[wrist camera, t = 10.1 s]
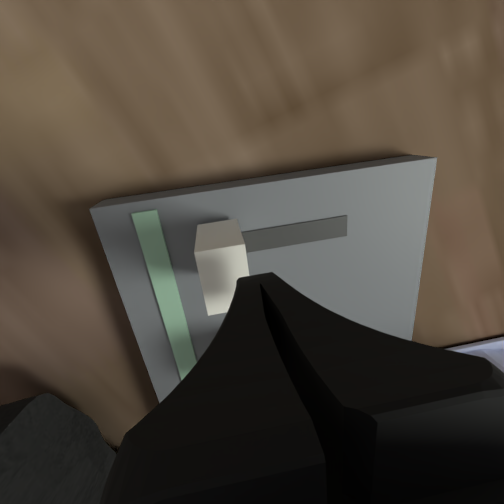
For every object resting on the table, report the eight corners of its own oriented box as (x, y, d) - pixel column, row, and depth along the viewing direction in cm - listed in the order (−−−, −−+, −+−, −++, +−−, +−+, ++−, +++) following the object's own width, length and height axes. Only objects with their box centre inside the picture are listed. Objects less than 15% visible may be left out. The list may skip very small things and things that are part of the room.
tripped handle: (236, 218, 14) (245, 244, 11) (244, 270, 16) (253, 307, 12) (197, 224, 14) (194, 252, 11) (208, 276, 15) (208, 315, 12)
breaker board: (412, 154, 17) (439, 157, 15) (387, 391, 25) (403, 414, 23) (103, 199, 15) (87, 209, 13) (182, 436, 23) (180, 464, 21)
